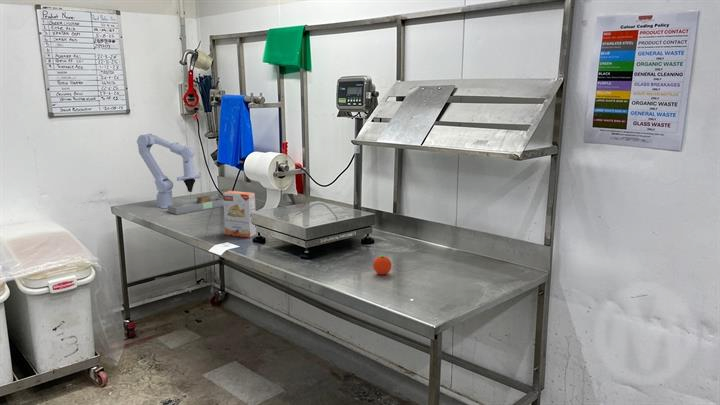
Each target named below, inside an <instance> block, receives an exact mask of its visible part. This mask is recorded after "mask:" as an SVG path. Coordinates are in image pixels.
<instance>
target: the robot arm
mask: <svg viewBox="0 0 720 405" xmlns="http://www.w3.org/2000/svg"><path fill="white" fill-rule="evenodd" d="M136 143H137V147H138V154H139V155H140V158H142V160H143V161H144V163H145V165H146V166H147V168H148V169H149V171H150V173H151V174H152V176H153V178H154V184H155V186H156V189H157V191H158V192H157V194H156V205H155V207H157V208H161V209H168V205H174V203H173V188H174V182H173V181H172V180H171V179H170V178H169V177H168V176H167V175H165V174H164V172H163V171H162V170H161V169H162V168H160V166H159V164H158V163H157V161H156V160H155V158H154V157H153V154H152V153H151V148H152V147H153V145H156V144H157V145H158V146H162V147H164V148H167V149H169V150H170V152H172V153H173V154H176V155H179V156H181V158H182V165H183V166H182V167H183V176H179V177H176V181H178V182H181V181H183V183H184V184H185V186H186V188H187V192H188V193H192V192H193V189H194V184H195V183H196V179H201V178H202V174H195V167H194V166H195V165H194V155H195V150H194V149H193V148H192V147H187V146H186V145H181V144H179V143H180V142H178V141H177V142H176V141H175V142H169V141H168V140H165V139H163V138H161V137H159V136H158V135H155V134H152V133H146V134H141V135H139V136H138V137H137V141H136Z"/></svg>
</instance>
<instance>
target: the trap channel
mask: <svg viewBox="0 0 720 405" xmlns="http://www.w3.org/2000/svg"><path fill="white" fill-rule="evenodd" d="M220 208H224V200H223V198H220V197H211V202H205V203H199V204H197V200H194V201H187V202H181V203H177V204H175V203H173V205H168V208H167V211H166V213H170V214H173V215H176V216H181V215H186V214H192V213H193V214H194V213H196V212H197V213H198V212H203V211H209V210H214V209H220Z"/></svg>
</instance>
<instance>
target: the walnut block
mask: <svg viewBox="0 0 720 405" xmlns="http://www.w3.org/2000/svg"><path fill="white" fill-rule="evenodd" d="M211 198H212V197H211V196H208V195H204V196H197V197H196V201H197V204H199V203H205V202H211Z"/></svg>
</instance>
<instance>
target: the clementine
mask: <svg viewBox="0 0 720 405" xmlns="http://www.w3.org/2000/svg"><path fill="white" fill-rule="evenodd" d="M372 267H373V268H372V269H373V270H374V272H375V273H377V274H378V275H380V276H381V275H382V276H383V275H387V274H389V272H391V270H392V261H391V259H390V258H388V256H385V255H379V256H378V257H376V258H375V259H374V260H373V263H372Z"/></svg>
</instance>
